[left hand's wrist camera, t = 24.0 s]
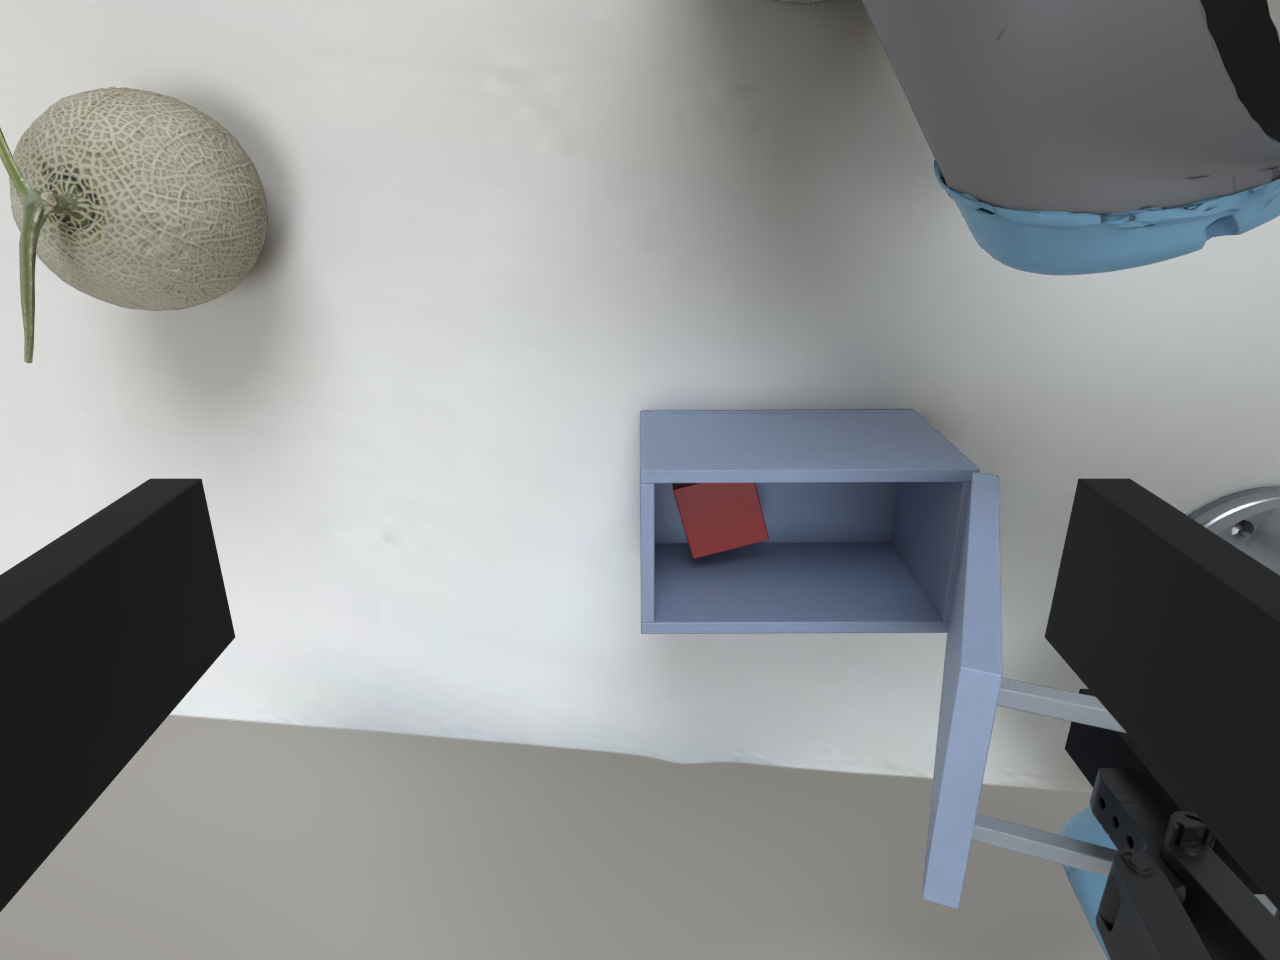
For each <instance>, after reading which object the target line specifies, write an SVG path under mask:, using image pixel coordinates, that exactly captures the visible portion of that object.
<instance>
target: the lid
mask: <svg viewBox="0 0 1280 960" xmlns="http://www.w3.org/2000/svg"><path fill="white" fill-rule="evenodd" d="M996 706H1002V707H1006V708H1011V709H1016V710H1021V711H1025V712H1030V713H1035V714H1039V715H1044V716H1049V717H1053V718H1058V719H1063V720H1067V721H1072V722H1077V723H1081V724H1086V725H1091V726H1095V727H1100V728H1105V729H1109V730H1114V731H1119V732H1124V733H1126V732H1125V730H1124V729H1123V728H1122V727H1121V726H1120V725H1119V723H1118V722H1117V721H1116V720H1115V719H1114V718H1113V716H1112V715H1111V714H1110V713H1109V712H1108V711H1107V709H1106V708H1105V707H1104V706H1103V705H1102V704H1101V702H1100V701H1099V700H1098V699H1097V698H1096V697H1094V696H1089V695H1084V694H1079V693H1074V692H1069V691H1064V690H1059V689H1054V688H1049V687H1044V686H1039V685H1034V684H1029V683H1025V682H1020V681H1015V680H1010V679H1005V678H1002V638H1001V585H1000V532H999V479H998V475H991V474H983V473H974V472H973V473H972V479H971V485H970V492H969V498H968V505H967V511H966V518H965V524H964V531H963V537H962V543H961V550H960V556H959V563H958V569H957V576H956V582H955V589H954V595H953V602H952V608H951V614H950V621H949V627H948V634H947V642H946V653H945V663H944V674H943V684H942V694H941V705H940V715H939V726H938V736H937V746H936V757H935V767H934V778H933V788H932V799H931V809H930V819H929V830H928V841H927V851H926V861H925V872H924V882H923V892H922V898H923V899H924V900H928V901H931V902H934V903H938V904H941V905H944V906H948V907H951V908H954V909H958V908H959V904H960V898H961V893H962V888H963V882H964V877H965V872H966V866H967V861H968V856H969V850H970V845H971V840H974V841H978V842H981V843H985V844H989V845H992V846H996V847H1000V848H1003V849H1007V850H1011V851H1015V852H1018V853H1022V854H1026V855H1029V856H1033V857H1037V858H1040V859H1044V860H1048V861H1052V862H1055V863H1059V864H1063V865H1066V866H1070V867H1074V868H1077V869H1081V870H1085V871H1088V872H1092V873H1096V874H1100V875H1103V876H1107V877H1108V875H1109V872H1110V869H1111V866H1112V862H1113V859H1114V856H1115V854H1116V852H1117V851H1118V850H1115V849H1111V848H1107V847H1104V846H1100V845H1096V844H1092V843H1088V842H1084V841H1080V840H1077V839H1073V838H1069V837H1065V836H1061V835H1057V834H1053V833H1049V832H1046V831H1042V830H1038V829H1034V828H1030V827H1026V826H1023V825H1019V824H1015V823H1011V822H1007V821H1003V820H999V819H996V818H992V817H988V816H984V815H980V814H976V813H977V808H978V802H979V797H980V792H981V786H982V781H983V776H984V770H985V765H986V760H987V754H988V749H989V744H990V738H991V733H992V728H993V722H994V717H995V712H996ZM1214 841H1215V840H1214ZM1213 844H1214V843H1213ZM1212 847H1213V846H1212Z"/></svg>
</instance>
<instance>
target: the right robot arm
mask: <svg viewBox="0 0 1280 960" xmlns="http://www.w3.org/2000/svg"><path fill="white" fill-rule="evenodd" d="M1189 517H1190V518H1191V519H1193V520H1195V521H1196V522H1198V523H1199V524H1201V525H1202V526H1204V527H1205V528H1207V529H1209V530H1210V531H1212V532H1213V533H1215V534H1216V535H1218V536H1219V537H1221V538H1222V539H1224V540H1226V541H1227V542H1229V543H1230V544H1232V545H1233V546H1235V547H1236V548H1238V549H1240V550H1241V551H1243V552H1244V553H1246V554H1247V555H1249V556H1250V557H1252V558H1254V559H1255V560H1257V561H1258V562H1260V563H1261V564H1263V565H1264V566H1266V567H1268V568H1269V569H1271V570H1272V571H1274V572H1275V573H1277V574H1278V575H1280V487H1263V488H1256V489H1250V490H1246V491H1242V492H1238V493H1235V494H1232V495H1229V496H1226V497H1223V498H1221V499H1219V500H1217V501H1214V502H1212V503H1210V504H1208V505H1206V506H1205V507H1203V508H1201V509H1199V510H1198V511H1196V512H1195V513H1193V514H1191V515H1190V516H1189ZM1079 694H1084V695H1089V696H1094V697H1095V695H1094V694H1093V693H1092V692H1091V691H1090V690H1089V689H1080V691H1079ZM1065 749H1066V751H1067V752H1068V754H1069V755H1070V756H1071V758H1072V759H1073V760H1074V762H1075V763H1076V765H1077V766H1078V767H1079V769H1080V770H1081V771H1082V773H1083V774H1084V776H1085V777H1086V778H1087V780H1088V781H1089V782H1090V784H1091V785H1092V787H1093V792H1092V796H1091V799H1090V806H1089V807H1087V808H1086V809H1084V810H1082V811H1081V812H1079V813H1078V814H1076V815H1075V816H1073V817H1071V818H1070V819H1069V820H1068V821H1067V822H1066V823H1065V824H1064V826H1063V827H1062V829H1061V832H1060V835H1061V836H1065V837H1069V838H1073V839H1077V840H1080V841H1084V842H1088V843H1092V844H1096V845H1100V846H1104V847H1107V848H1111V849H1115V850H1118V851H1117V852H1116V854H1115V856H1114V859H1113V862H1112V866H1111V869H1110V872H1109V875H1108V877H1107V876H1103V875H1100V874H1096V873H1092V872H1088V871H1085V870H1081V869H1077V868H1074V867H1070V866H1066V865H1063V866H1064V869H1065V871H1066V874H1067V876H1068V879H1069V881H1070V883H1071V886H1072V888H1073V890H1074V892H1075V894H1076V896H1077V898H1078V901H1079V903H1080V905H1081V907H1082V909H1083V911H1084V913H1085V915H1086V917H1087V919H1088V921H1089V923H1090V925H1091V927H1092V929H1093V931H1094V933H1095V935H1096V937H1097V939H1098V941H1099V943H1100V945H1101V947H1102V949H1103V951H1104V953H1105V954H1106V956H1107V958H1108V960H1280V912H1279V911H1278V909H1277V908H1276V907H1275V906H1274V905H1273V904H1272V902H1271V901H1270V900H1269V899H1268V898H1267V897H1266V895H1265V894H1264V893H1263V892H1262V891H1261V890H1260V888H1259V887H1258V886H1257V885H1256V884H1255V883H1254V881H1253V880H1252V879H1251V878H1250V877H1249V876H1248V874H1247V873H1246V872H1245V871H1244V870H1243V869H1242V867H1241V866H1240V865H1239V864H1238V863H1237V861H1236V860H1235V859H1234V858H1233V857H1232V856H1231V854H1230V853H1229V852H1228V851H1227V850H1226V849H1225V847H1224V846H1223V845H1222V844H1221V843H1220V842H1219V840H1218V839H1217V838H1216V837H1215V836H1214V835H1213V833H1212V832H1211V831H1210V830H1209V829H1208V828H1207V826H1206V825H1205V824H1204V823H1203V822H1202V821H1201V819H1200V818H1199V817H1198V816H1197V815H1196V814H1195V812H1194V811H1193V810H1192V809H1191V808H1190V807H1189V805H1188V804H1187V803H1186V802H1185V801H1184V799H1183V798H1182V797H1181V796H1180V795H1179V794H1178V792H1177V791H1176V790H1175V789H1174V788H1173V787H1172V785H1171V784H1170V783H1169V782H1168V781H1167V780H1166V778H1165V777H1164V776H1163V775H1162V774H1161V773H1160V771H1159V770H1158V769H1157V768H1156V767H1155V766H1154V764H1153V763H1152V762H1151V761H1150V760H1149V759H1148V757H1147V756H1146V755H1145V754H1144V753H1143V752H1142V750H1141V749H1140V748H1139V747H1138V746H1137V744H1136V743H1135V742H1134V741H1133V740H1132V739H1131V737H1130V736H1129V735H1128V734H1127V733H1124V732H1119V731H1114V730H1109V729H1105V728H1100V727H1095V726H1091V725H1086V724H1081V723H1077V722H1072V723H1071V726H1070V730H1069V734H1068V738H1067V742H1066V746H1065ZM1214 840H1215V841H1214ZM1213 843H1214V844H1213ZM1212 846H1213V847H1212Z"/></svg>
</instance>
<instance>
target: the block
mask: <svg viewBox="0 0 1280 960" xmlns="http://www.w3.org/2000/svg"><path fill="white" fill-rule="evenodd" d="M672 485H673V492H674V496H675V499H676V502H677V506H678V509H679V513H680V516H681V519H682V523H683V526H684V530H685V533H686V537H687V540H688V543H689V547H690V550H691V554H692V557H693V559H695V558H699V557H703V556H707V555H711V554H715V553H719V552H723V551H727V550H731V549H735V548H738V547H742V546H746V545H750V544H754V543H758V542H762V541H766V540H769V536H768V532H767V528H766V524H765V520H764V516H763V512H762V509H761V505H760V501H759V497H758V493H757V489H756V485H755V483H672Z"/></svg>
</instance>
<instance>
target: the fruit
mask: <svg viewBox="0 0 1280 960" xmlns="http://www.w3.org/2000/svg"><path fill="white" fill-rule="evenodd" d="M0 157H1V159H2V162H3V164H4V166H5V168H6V170H7V172H8V174H9V180H10V194H11V208H12V212H13V217H14V220H15V222H16V224H17V226H18V228H19V230H20V232H21V236H20V242H19V252H20V289H21V306H22V315H23V324H24V333H25V362H26V363H32V358H33V348H34V315H35V260H36V254H37V256H38V257H39V259H40V260H41V261H42V262H43V263H44V264H45V265H46V266H47V267H48V268H49V269H50V270H51V271H52V272H53V273H55V274H56V275H57V276H58V277H59V278H60V279H61V280H62V281H64V282H65V283H67V284H69V285H70V286H72V287H74V288H75V289H77V290H78V291H81V292H83V293H85V294H87V295H90V296H92V297H94V298H96V299H99V300H102V301H105V302H108V303H111V304H114V305H117V306H120V307H125V308H130V309H139V310H179V309H185V308H189V307H194V306H197V305H200V304H202V303H205V302H208V301H211V300H213V299H216V298H217V297H219V296H221V295H223V294H225V293H227V292H228V291H230V290H231V289H233V288H234V287H235V286H237V285H238V284H239V282H240V281H241V280H242V279H243V278H244V277H245V276H246V275H247V274H248V273H249V272H250V270H251V268H252V267H253V265H254V264H255V263H256V261H257V259H258V257H259V254H260V252H261V250H262V248H263V245H264V241H265V238H266V234H267V223H268V217H267V203H266V197H265V193H264V189H263V185H262V183H261V180H260V178H259V175H258V173H257V171H256V168H255V166H254V165H253V163H252V161H251V159H250V158H249V156H248V155H247V154H246V152H245V151H244V150H243V148H242V147H241V145H240V144H239V143H238V141H237V140H236V139H235V138H234V137H233V136H232V135H231V134H230V133H229V132H228V131H227V130H226V129H225V128H224V127H222V126H221V125H220V124H219V123H218V122H216V121H215V120H213V119H212V118H210V117H209V116H207V115H205V114H204V113H202V112H200V111H199V110H197V109H195V108H194V107H191V106H189V105H187V104H185V103H183V102H181V101H179V100H177V99H174V98H172V97H168V96H165V95H161V94H157V93H154V92H149V91H143V90H137V89H130V88H115V87H110V88H107V89H96V90H91V91H86V92H82V93H78V94H75V95H72V96H68V97H65V98H62V99H60V100H59V101H58V102H56V103H55V104H53V105H51V106H50V107H49V108H48V109H47V110H46V111H45V112H44V113H43V114H42V115H40V116H39V117H38V118H37V119H36V120H35V121H34V122H33V123H32V125H31V126H30V127H29V128H28V129H27V130H26V131H25V133H24V134H23V135H22V137H21V138H20V140H19V142H18V144H17V147H16V149H15V151H14V154H13V157H12V155H11V152H10V150H9V148H8V146H7V143H6V141H5V138H4V136H3V133H2V131H1V129H0Z"/></svg>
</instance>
